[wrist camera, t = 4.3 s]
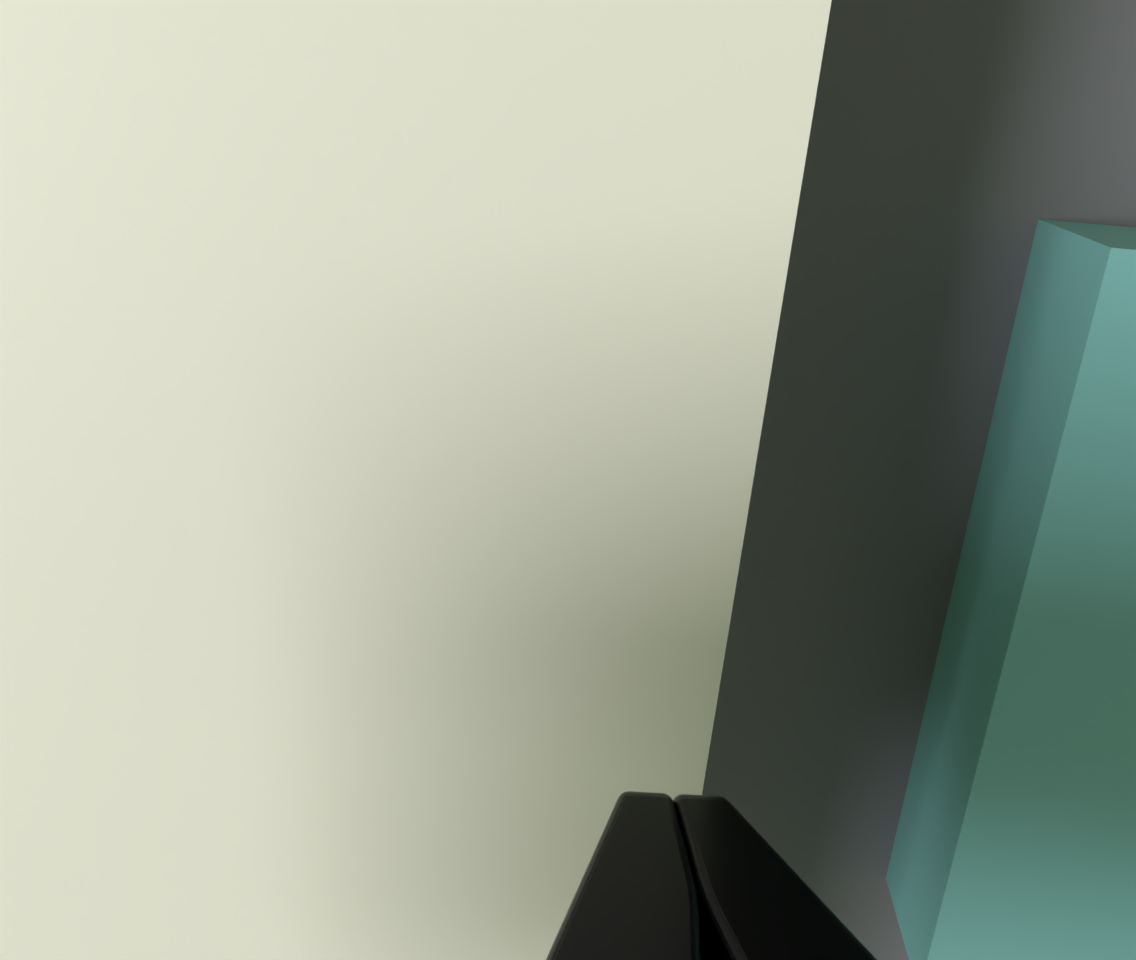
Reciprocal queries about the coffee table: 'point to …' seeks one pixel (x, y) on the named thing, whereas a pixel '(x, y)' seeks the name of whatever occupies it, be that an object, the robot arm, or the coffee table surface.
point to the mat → (897, 397)
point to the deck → (371, 452)
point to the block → (1039, 644)
